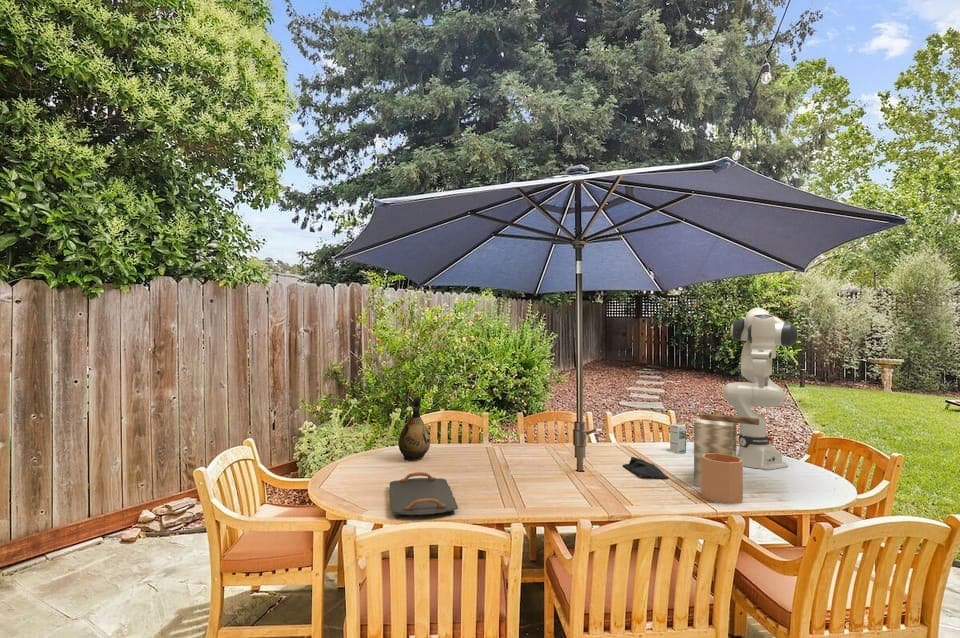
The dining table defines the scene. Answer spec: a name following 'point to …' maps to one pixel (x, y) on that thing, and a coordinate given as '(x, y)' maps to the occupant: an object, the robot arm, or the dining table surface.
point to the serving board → (421, 496)
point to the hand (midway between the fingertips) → (763, 387)
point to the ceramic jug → (414, 435)
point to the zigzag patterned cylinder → (712, 441)
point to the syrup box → (678, 438)
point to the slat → (729, 419)
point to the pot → (722, 478)
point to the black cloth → (644, 469)
